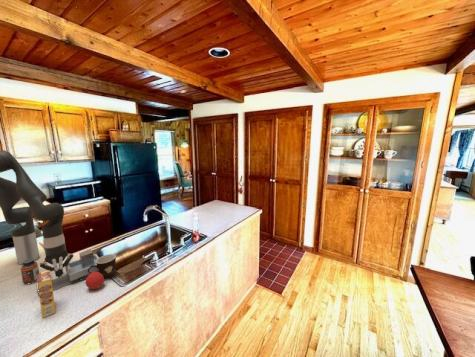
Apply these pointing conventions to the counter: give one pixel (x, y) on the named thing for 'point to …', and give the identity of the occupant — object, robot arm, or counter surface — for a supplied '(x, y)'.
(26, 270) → the supplement bottle
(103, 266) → the coffee mug
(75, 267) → the grey shallow tray
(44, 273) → the candy box
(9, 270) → the counter surface
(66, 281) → the runner mat
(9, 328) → the counter surface
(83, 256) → the steel block
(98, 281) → the tomato
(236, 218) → the counter surface
